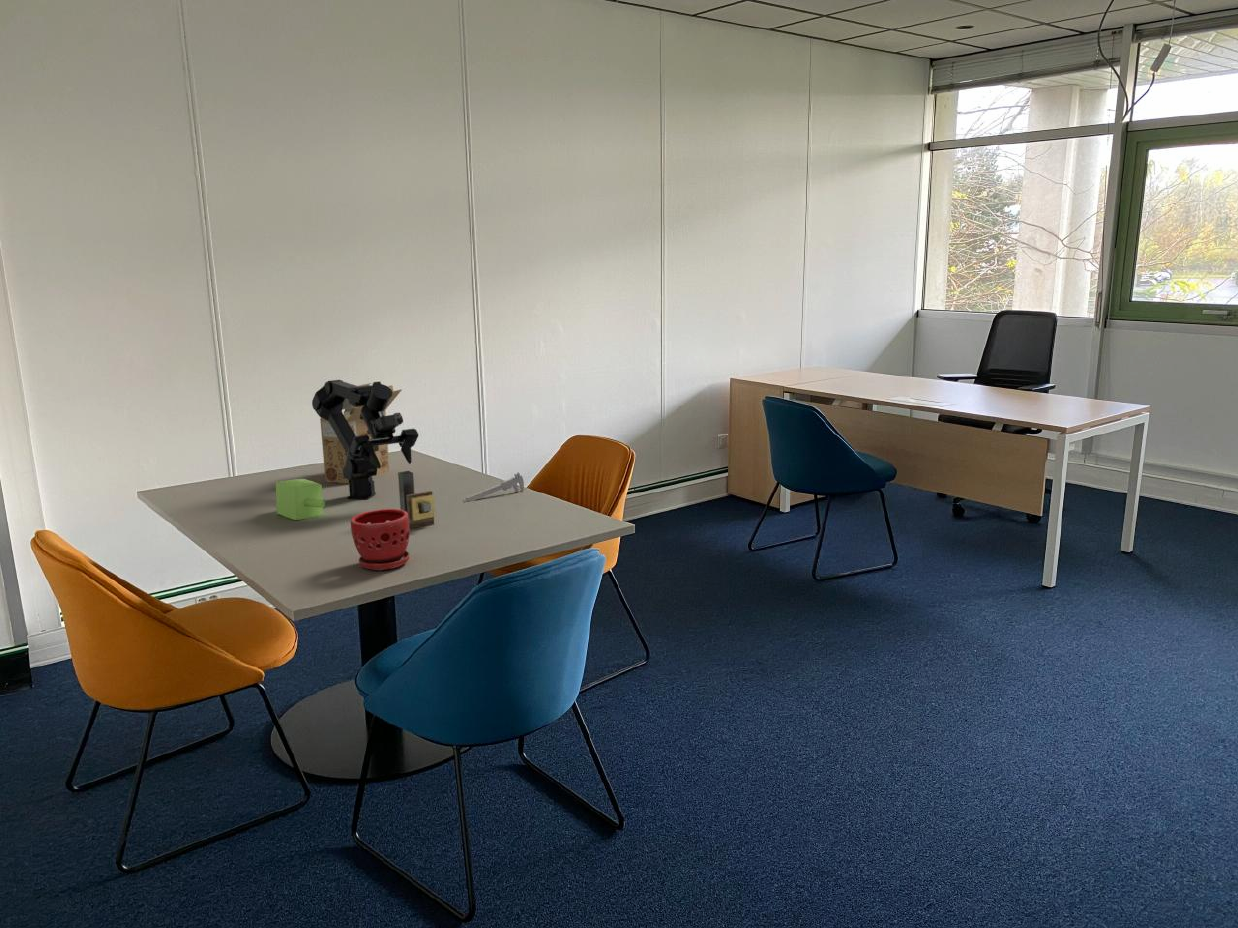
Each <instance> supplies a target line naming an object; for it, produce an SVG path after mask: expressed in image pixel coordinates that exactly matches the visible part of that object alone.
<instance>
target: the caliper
mask: <svg viewBox="0 0 1238 928" xmlns="http://www.w3.org/2000/svg"><path fill="white" fill-rule="evenodd" d="M518 484H519V487H518ZM511 488H513V489H514V491H515V493H520V492H524V491H525V482H524V478H523V475H521V474H520V472H517V473H514V477H511V478H509V479H506V480H503V481H501V483H499V484H497V485H494V486H492V487H490V488H487V489H484V490H481V491H479V492H476V493H474V494H471V495H468V496H466V498H465V499H463V500H462V501H463V503H467V502H473V500H474V501H475V500H476V501H477V500H479V499H481V498H484V497H486V496H489V495H491V494H494V493H497V492H500V491H501V490H503V491H504V492H506V491H507V490H510V489H511ZM519 488H520V490H519Z"/></svg>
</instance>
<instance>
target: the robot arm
mask: <svg viewBox="0 0 1238 928" xmlns="http://www.w3.org/2000/svg"><path fill="white" fill-rule="evenodd" d="M387 386H388V385H385V384H382V382H381V381H374V382H372V384H370V385H368V386H359V385H355V384H352V383H348V382H346V381H343V380H341V379H335V380H334V379H332V380H327V381H325V382H324V385H323V386H322V387H321V388H320V389H318V390H317V391H315V393H314V395H313V399H312V400H311V405H312V408H313V410H314V411H315V413H316V414H317V415H318V416H319V418H323V419H325V420H327V421H328V422H329V423H330V425H331V427H332V428H333V430H334V432H335V434H336V435H337V437H338V439H339V441H340V442H341V444H342V446H343V448H344V449H345V451H346V453H347V457H346V465H345V467H344V469H343V475H344V478H347V479H349V484H348V490H349V495H348V496H347V499H349V500H350V499H358V500H359V499H360V500H367V499H370V498H372V497H373V496H375V495H376V489H375V488H376V487H375V481H374V479H373V477H375V476H378V475H377V468H378V469H380V468H381V465H380V462H379V460H378V458H377V456H376V454H375V452H374V449H373V446H377V445H393V444H398V446H399V447H400V452H401V453H402V454H403V456H404V458H405V460H406V462H407V463H408V464H409V465H411V463H412V447H414V446H415V445H416V442H417V439H418V438H419V432H418V431H417V430H416V428H408V429H402V430H401V431H400V434H399V435H394V434H395V433H396V428H397V427H399V426H401V424H403V423H404V418H403V415H402V414H401V412H394V413H393V414H388V415H386V416H384V414H383V412H382V411H384V410H385V409H386V408H387V409H388V407H389V406H388V403H389V401H390V399H391V397H392V390H391V389H390V388H389V387H387ZM345 398H346V399H348V400H349V403H350V404H351V405H353V406H354V407H359V406H363V407H362V409H361V414H360V419H364V421H365V424H366V426H367V428H368V430H367V433H368V434H370V435H371V437H372V439H370V438H369V436H368V435H361V436H356V435H355V433H354V432H353V430H352V428H351V426H350V425H349V423H348V421H347V420H346V418H345V416H344V412H343V410H344V409H343V402H344V400H345ZM387 406H388V407H387ZM342 409H343V410H342ZM387 409H386V410H387ZM386 410H385V411H386ZM372 476H373V477H372Z"/></svg>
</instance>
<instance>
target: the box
mask: <svg viewBox="0 0 1238 928" xmlns="http://www.w3.org/2000/svg"><path fill="white" fill-rule="evenodd" d="M368 385H373V382H368V383H363V384H360V385H358V386H368ZM386 386H387V387H389V388H390V389H391V390H392V397H391V399H390V401H389V403H388V406H387V408H386V409H385V410H384V411H382V412H383V414H384V416H387V415H386V410H387V409H388V407H389V406H390V405H391V404H392V403H393V402H394V400H395V399H396V398H397V397H398V396H399V394H400V393H401V392H402V391H403V389H402V388H401V389H398V390H394V386H393V385H391V384H390V385H386ZM362 407H363V406H359V407H354V406H353V405H351V404H350V403H349V400H348V399H346V398H345V400H344V402H343V409H342V411H343V410H344V411H343V415H344V416H345V418H346V420H347V421H348V423H349V425H350V426H351V428H352V430H353V432H354V433H355V435H356V436H361V435H368V436H369V438H370V439H372V437H371V435H370V434H368V433H367V430H368V428H367V426H366V424H365V421H364V419H360V414H361V409H362ZM319 418H320V419H319V420H320V431H321V441H322V442H321V444H322V454H323V455H322V456H323V467H324V477H325V482H326V481H329V482H328V483H334V482H338V483H337V484H346V483H348V484H347V485H349V479H347V478H344V475H343V469H344V467H345V465H346V457H347V453H346V451H345V449H344V448H343V446H342V444H341V442H340V441H339V439H338V437H337V435H336V434H335V432H334V430H333V428H332V427H331V425H330V423H329V422H328V421H327V420H325V419H323V418H321V417H319ZM388 445H389V444H388ZM388 445H377V446H373V449H374V452H375V454H376V456H377V458H378V460H379V462H380V465H381V468H380V469H378V468H377V474H378V475H381V474H384V473H386V472H388V471H390V461H389V460H390V459H389V446H388ZM383 472H384V473H383ZM380 473H381V474H380Z"/></svg>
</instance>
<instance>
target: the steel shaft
mask: <svg viewBox="0 0 1238 928" xmlns="http://www.w3.org/2000/svg"><path fill="white" fill-rule="evenodd" d="M397 477H398V489H399V490H398V493H399V507H400V509H399V510H403V511H406V512H407V497H406V495H410V494H415V482H414V472H413V471H410V470H406V471H405V470H404V471H400V472H399V471H398V472H397ZM418 507H419V510H421V511H423V512H427V511H431V503H429V502H422V503H418Z"/></svg>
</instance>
